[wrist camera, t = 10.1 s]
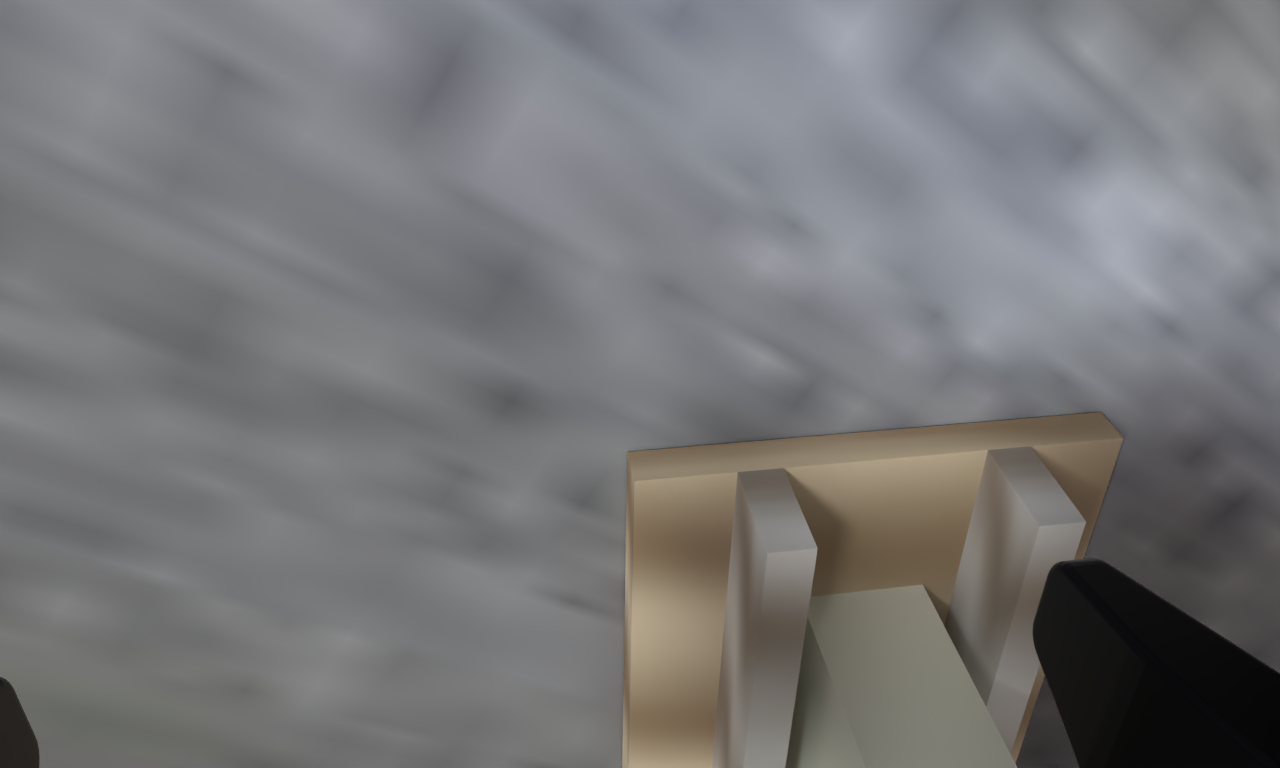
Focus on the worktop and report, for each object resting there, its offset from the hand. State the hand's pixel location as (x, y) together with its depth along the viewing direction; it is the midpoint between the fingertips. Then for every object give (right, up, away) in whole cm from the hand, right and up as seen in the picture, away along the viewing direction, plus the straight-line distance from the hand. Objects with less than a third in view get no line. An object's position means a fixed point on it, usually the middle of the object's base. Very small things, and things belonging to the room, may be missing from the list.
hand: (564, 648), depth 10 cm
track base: (+6, -6, +20) cm, 21 cm away
